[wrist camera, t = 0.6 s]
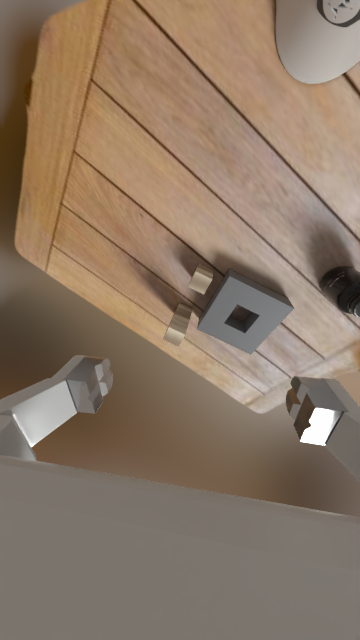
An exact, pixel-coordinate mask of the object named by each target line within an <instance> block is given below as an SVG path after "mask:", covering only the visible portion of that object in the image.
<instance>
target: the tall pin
mask: <svg viewBox="0 0 360 640" xmlns="http://www.w3.org/2000/svg"><path fill="white" fill-rule="evenodd" d="M191 313H192V308H190V307H188V306H186V305H184V304H182V303H179V305H178V307H177V309H176V311H175V313H174V315H173V317H172V320H171V322H170V324H169V327H168V329H167V331H166V333H165V336H164V338H163V339H164V340H166V341H168V342H170V343H172V344H174V345H177V346H179V344H180V343H181V341H182V339H183V338H184V336H185V334H186V330H187V327H188V323H189V320H190V316H191Z"/></svg>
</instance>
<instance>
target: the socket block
mask: <svg viewBox="0 0 360 640" xmlns="http://www.w3.org/2000/svg"><path fill="white" fill-rule="evenodd" d="M237 305H240V306H242V307H244V308H246V309H248V310H250V311H252V313H251V314H250V315H249V316H248V318H247V319H246V320H245V321H244V323H243V322H241V321H239V320H237V319H235V318H233V317H231V316H229V315H230V314H231V313H232V311H233V310H234V308H235V307H236V306H237ZM293 309H294V307H293V306H292V304H291V302H290V301H289V299H288V298H286V297H284V296H282V295H280V294H278V293H276V292H274V291H272V290H270V289H268V288H266V287H264V286H262V285H260V284H258V283H256V282H254V281H252V280H250V279H248V278H246V277H244V276H242V275H240V274H238V273H236V272H234V271H232V270H230V269H229V270H228V272H227V273H226V275H225V277H224V278H223V280H222V282H221V283H220V285H219V287H218V288H217V290H216V292H215V293H214V295H213V297H212V298H211V300H210V302H209V303H208V305H207V307H206V308H205V310H204V312H203V313H202V315H201V317H200V318H199V322H198V327H197V329H198V330H200V331H203V332H205V333H207V334H209V335H211V336H213V337H215V338H217V339H219V340H222V341H224V342H226V343H228V344H230V345H232V346H234V347H236V348H238V349H241V350H243V351H245V352H247V353H249V354H252V353H253V352H254V351H255V349H256V348H257V347H258V346H259V345H260V344H261V343H262V342H263V341H264V340H265V339H266V338H267V337H268V336H269V335H270V334H271V332H272V331H273V330H274V329H275V328H276V327H277V326H278V325H279V324H280V323H281V322H282V321H283V320H284V319H285V318H286V317H287V315H288V314H289V313H290V312H291V311H292V310H293Z"/></svg>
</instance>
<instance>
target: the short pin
mask: <svg viewBox="0 0 360 640" xmlns="http://www.w3.org/2000/svg"><path fill="white" fill-rule="evenodd" d="M213 272H214V271H213V270H211V269H209V268H207V267H205V266H203V265H201V264H198V266H197V268H196V270H195V272H194V274H193V276H192V278H191V281H190V283H189V286H188V287H189V288H191V289H194V290H196V291H198V292H200V293H202V294H204V293H205V292H206V290H207V288H208V286H209V285H210V283H211V281H212V279H213Z"/></svg>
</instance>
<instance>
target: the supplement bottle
mask: <svg viewBox="0 0 360 640" xmlns="http://www.w3.org/2000/svg"><path fill="white" fill-rule="evenodd" d="M321 290H322V291H323V293H324V294H325V295H326V296H327V297H328V298H329V299H330V300H331V301H332V302H333V303H334V304H335V305H336V306H337V307H338V308H339V309H340V310H341V311H343V312H345V313H349V314H353V315H355V316H356V317H358V318H360V272H358V271H357V270H355V269H353V268H351V267H338V268H335V269H333V270H331V271H329V272H328V273H327V274H326V275H325V276H324V277H323V279H322V281H321Z"/></svg>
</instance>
